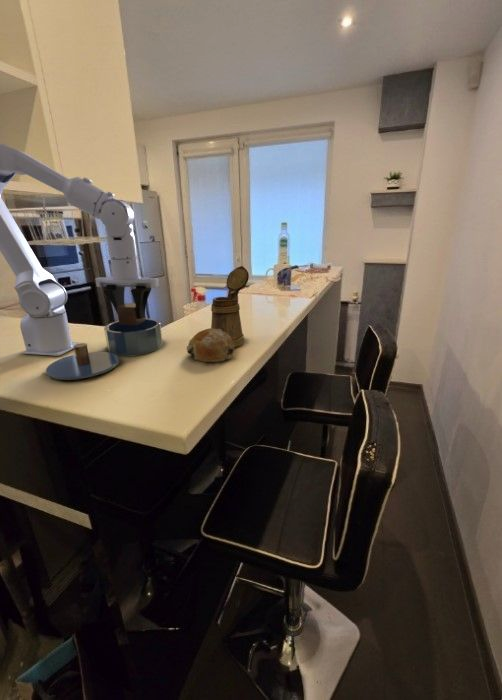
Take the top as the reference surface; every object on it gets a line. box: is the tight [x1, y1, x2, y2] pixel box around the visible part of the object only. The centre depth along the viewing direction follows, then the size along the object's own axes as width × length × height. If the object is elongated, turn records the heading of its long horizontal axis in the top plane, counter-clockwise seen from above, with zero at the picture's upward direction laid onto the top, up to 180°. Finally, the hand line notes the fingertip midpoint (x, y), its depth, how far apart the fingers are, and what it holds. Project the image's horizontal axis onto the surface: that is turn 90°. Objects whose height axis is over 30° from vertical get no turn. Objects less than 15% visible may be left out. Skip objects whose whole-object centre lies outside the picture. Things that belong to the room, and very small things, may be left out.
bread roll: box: [186, 327, 235, 363], centre depth 73 cm, size 10×10×8 cm
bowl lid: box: [45, 342, 120, 381], centre depth 67 cm, size 14×14×5 cm
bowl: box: [103, 317, 163, 357], centre depth 79 cm, size 13×13×6 cm
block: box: [116, 302, 146, 326], centre depth 78 cm, size 4×4×4 cm
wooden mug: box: [210, 265, 250, 348], centre depth 82 cm, size 9×14×18 cm, turn 153°
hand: (132, 317), depth 78 cm, fingers closed on block, 4 cm apart
